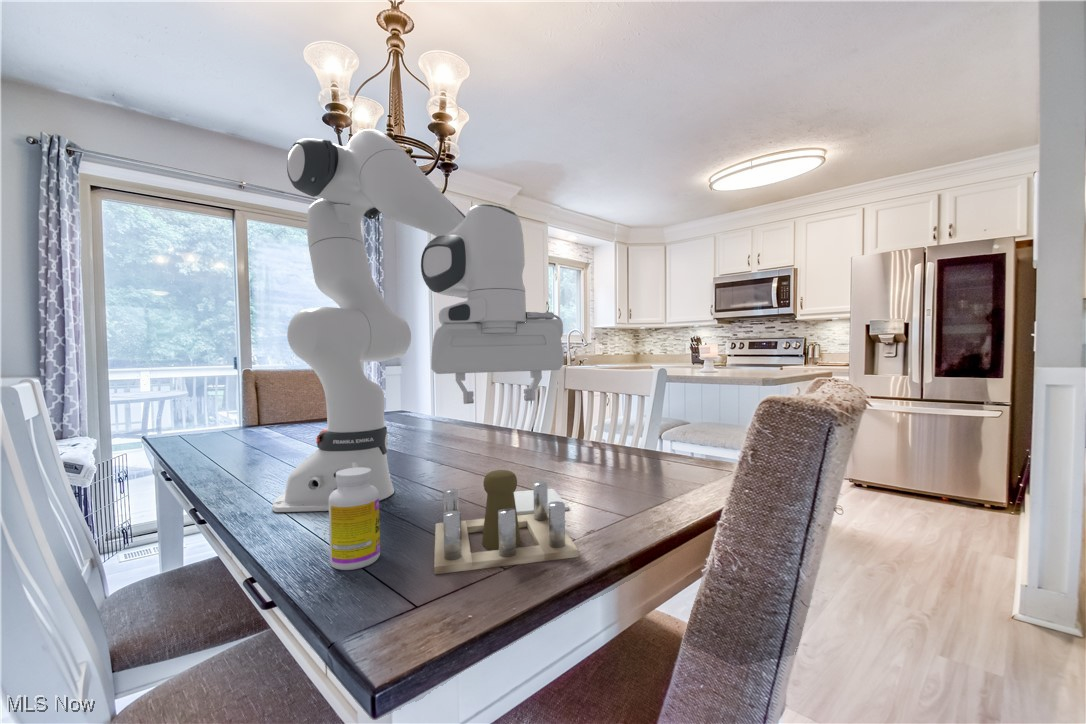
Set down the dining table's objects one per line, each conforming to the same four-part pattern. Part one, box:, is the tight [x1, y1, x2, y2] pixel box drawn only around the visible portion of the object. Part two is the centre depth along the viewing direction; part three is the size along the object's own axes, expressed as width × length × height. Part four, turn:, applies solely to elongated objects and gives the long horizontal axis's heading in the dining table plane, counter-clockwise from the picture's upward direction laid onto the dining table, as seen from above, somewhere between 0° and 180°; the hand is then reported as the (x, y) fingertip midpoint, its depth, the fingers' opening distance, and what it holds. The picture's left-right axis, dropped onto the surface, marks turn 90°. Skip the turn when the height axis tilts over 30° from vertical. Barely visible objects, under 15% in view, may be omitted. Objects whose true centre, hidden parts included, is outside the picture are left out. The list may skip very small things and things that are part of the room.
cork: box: [481, 469, 522, 551], centre depth 70 cm, size 6×6×11 cm
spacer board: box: [433, 513, 580, 575], centre depth 70 cm, size 20×16×1 cm
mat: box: [514, 488, 570, 515], centre depth 88 cm, size 12×12×1 cm
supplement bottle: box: [328, 467, 381, 571], centre depth 64 cm, size 7×7×13 cm
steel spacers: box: [442, 481, 566, 560], centre depth 70 cm, size 17×15×6 cm
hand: (499, 402), depth 69 cm, fingers open, 8 cm apart
